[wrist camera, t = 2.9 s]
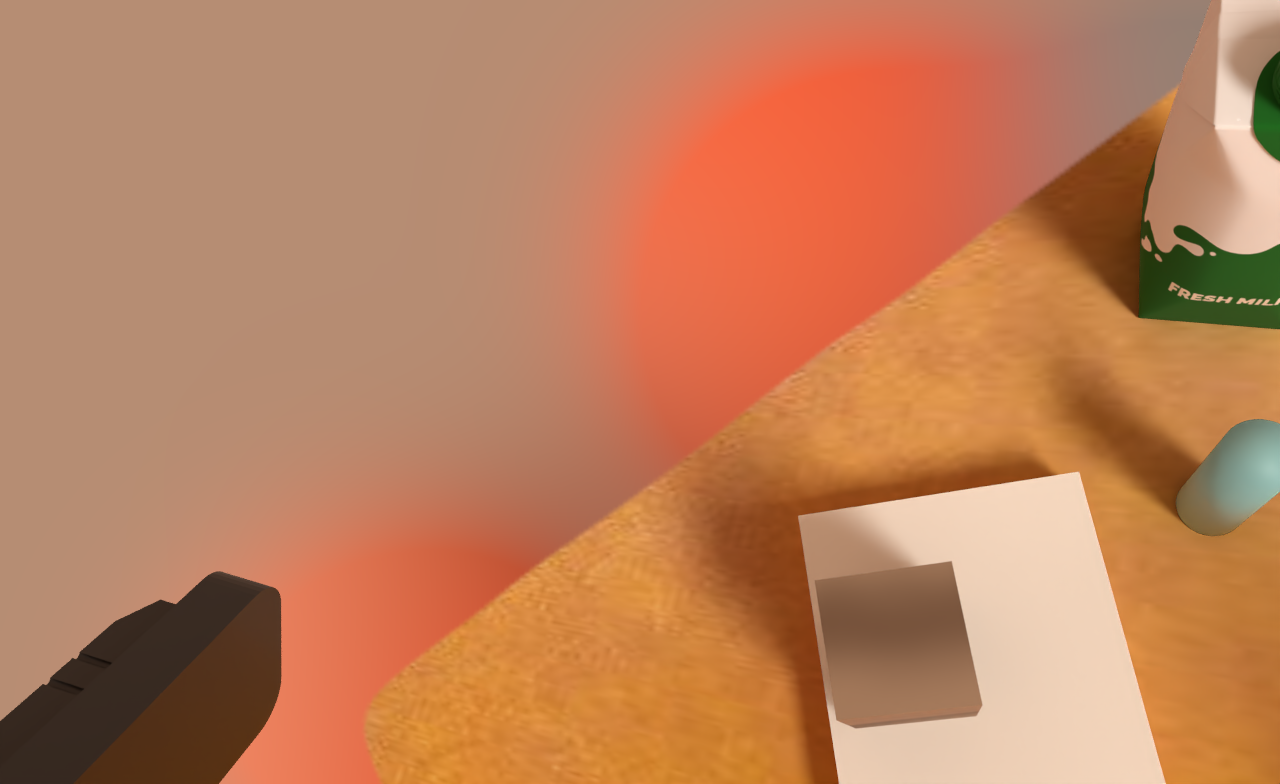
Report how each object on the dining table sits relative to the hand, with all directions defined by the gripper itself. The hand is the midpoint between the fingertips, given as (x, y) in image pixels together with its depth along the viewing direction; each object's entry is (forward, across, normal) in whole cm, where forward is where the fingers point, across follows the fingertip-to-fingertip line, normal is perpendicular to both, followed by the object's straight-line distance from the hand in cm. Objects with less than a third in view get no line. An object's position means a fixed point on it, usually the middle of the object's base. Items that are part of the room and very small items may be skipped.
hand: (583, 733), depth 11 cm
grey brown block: (+30, +11, -21) cm, 38 cm away
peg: (+38, +24, -13) cm, 46 cm away
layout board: (+32, +14, -22) cm, 42 cm away
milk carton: (+47, +23, -3) cm, 53 cm away
